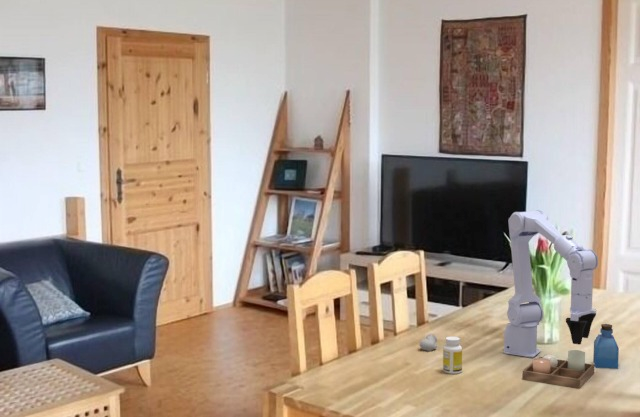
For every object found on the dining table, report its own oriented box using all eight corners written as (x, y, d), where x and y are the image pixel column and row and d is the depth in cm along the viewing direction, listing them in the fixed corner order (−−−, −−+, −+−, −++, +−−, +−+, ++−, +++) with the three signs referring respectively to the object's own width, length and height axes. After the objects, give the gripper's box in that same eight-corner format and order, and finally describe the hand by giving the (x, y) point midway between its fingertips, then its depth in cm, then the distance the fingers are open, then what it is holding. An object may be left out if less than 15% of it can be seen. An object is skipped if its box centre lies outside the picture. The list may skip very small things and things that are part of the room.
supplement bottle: (463, 369, 249) (463, 336, 248) (460, 375, 244) (460, 341, 243) (444, 367, 251) (445, 335, 249) (441, 373, 246) (441, 339, 244)
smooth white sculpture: (430, 356, 266) (416, 349, 269) (440, 349, 273) (425, 342, 276) (434, 344, 265) (420, 337, 267) (443, 337, 272) (429, 330, 274)
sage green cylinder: (565, 375, 243) (565, 353, 242) (570, 371, 247) (571, 349, 246) (581, 378, 240) (582, 355, 239) (586, 373, 244) (587, 351, 243)
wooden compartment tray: (522, 379, 240) (522, 370, 239) (539, 364, 253) (539, 356, 253) (579, 388, 231) (579, 379, 231) (594, 372, 245) (594, 364, 244)
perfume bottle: (618, 368, 248) (619, 328, 247) (595, 367, 250) (596, 327, 248) (615, 362, 254) (616, 323, 253) (593, 361, 256) (594, 322, 254)
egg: (539, 371, 247) (539, 355, 246) (543, 367, 251) (544, 351, 250) (554, 373, 244) (555, 358, 244) (559, 369, 248) (560, 354, 248)
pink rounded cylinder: (530, 378, 240) (530, 361, 240) (535, 374, 244) (535, 357, 244) (547, 381, 238) (547, 364, 237) (552, 376, 242) (552, 359, 241)
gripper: (589, 299, 232) (588, 348, 233) (602, 289, 244) (601, 336, 246) (563, 297, 236) (562, 345, 237) (577, 287, 248) (576, 333, 249)
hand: (580, 340), depth 242 cm, fingers open, 7 cm apart
